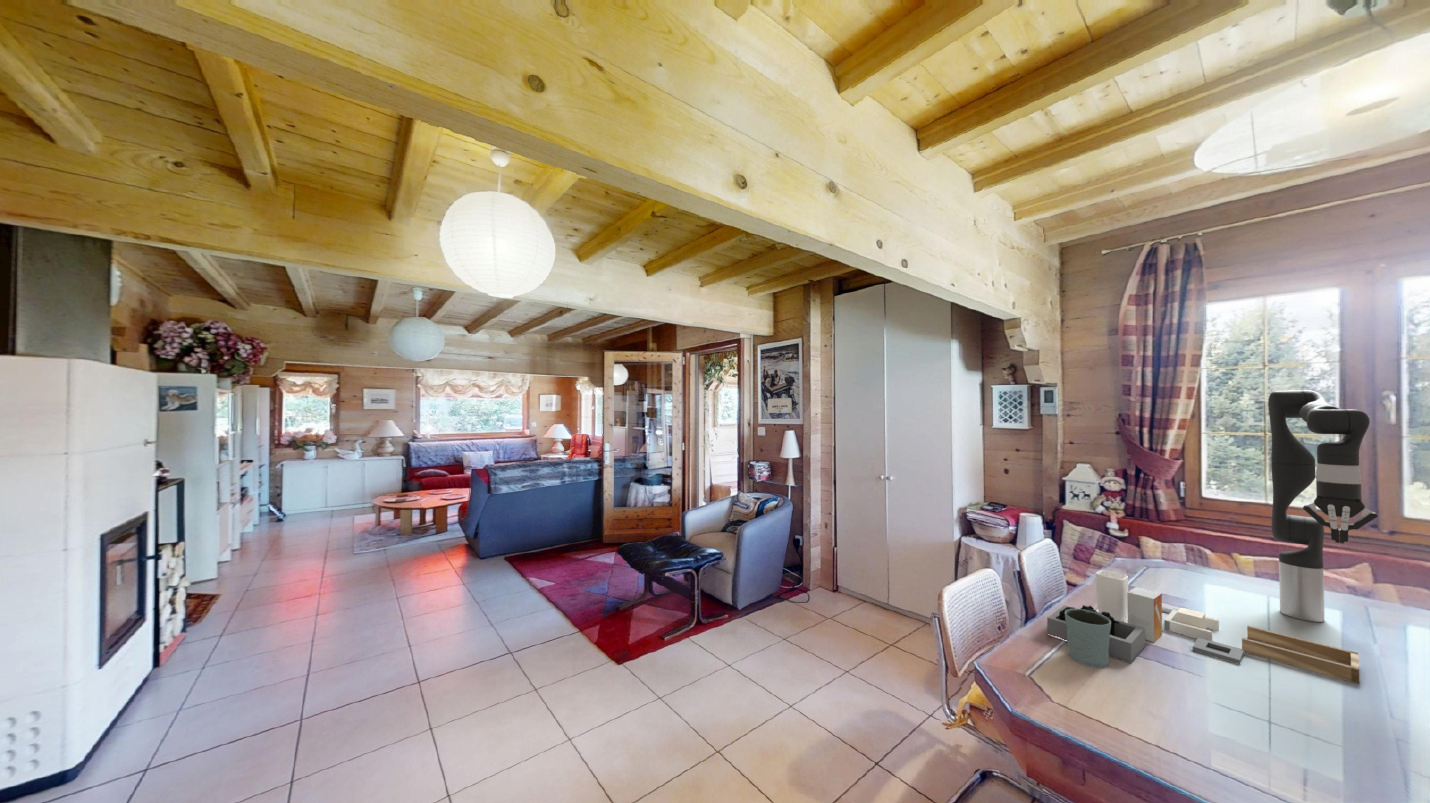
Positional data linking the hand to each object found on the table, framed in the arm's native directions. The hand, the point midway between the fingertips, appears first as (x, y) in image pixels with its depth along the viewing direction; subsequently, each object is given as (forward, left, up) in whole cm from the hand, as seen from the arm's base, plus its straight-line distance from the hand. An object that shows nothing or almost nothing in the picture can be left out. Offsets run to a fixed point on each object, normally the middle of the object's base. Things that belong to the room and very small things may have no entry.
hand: (1339, 542), depth 129 cm
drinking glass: (+57, -42, -32) cm, 78 cm away
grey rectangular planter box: (+43, -44, -32) cm, 69 cm away
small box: (+26, -36, -32) cm, 55 cm away
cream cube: (+10, -28, -32) cm, 44 cm away
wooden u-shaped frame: (+10, -8, -32) cm, 34 cm away
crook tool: (0, -31, -32) cm, 45 cm away
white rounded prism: (+21, -45, -32) cm, 59 cm away
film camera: (+44, -44, -32) cm, 70 cm away
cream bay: (+10, -28, -32) cm, 44 cm away
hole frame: (+23, -21, -32) cm, 45 cm away
